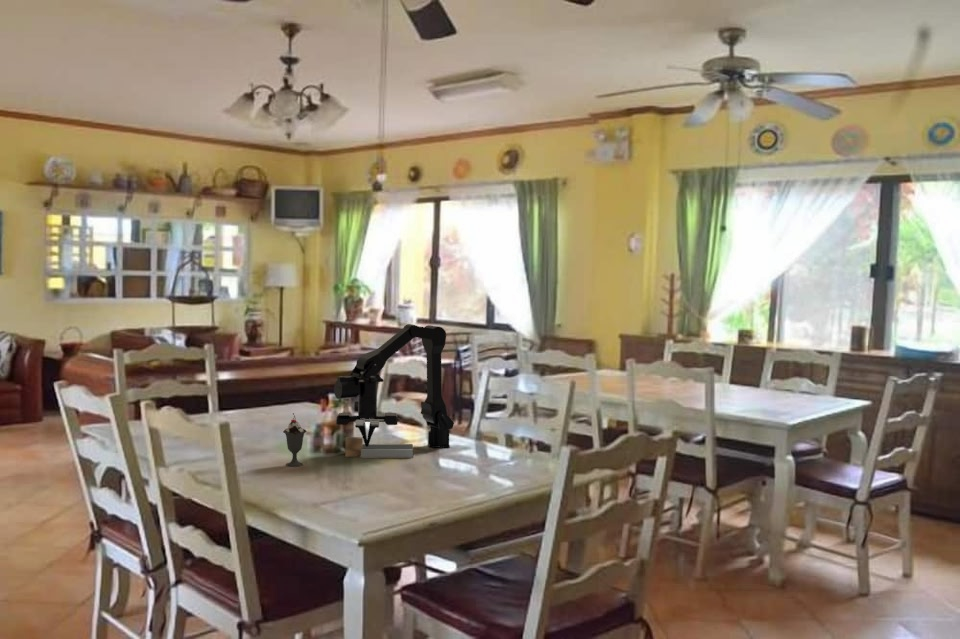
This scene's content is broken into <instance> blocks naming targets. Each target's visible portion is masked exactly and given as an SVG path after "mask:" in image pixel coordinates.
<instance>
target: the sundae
mask: <svg viewBox="0 0 960 639" xmlns="http://www.w3.org/2000/svg"><path fill="white" fill-rule="evenodd" d="M292 415H293V418H292V419H291V421H290V422H289V424H288V426H287V428H285V429H284V430H283V433H284V434H285V438H286V444H287V449H288V451H289V453H290V452H291V454H292V459H291V461H290V462H286V464H285V466H287V467H293V468H296V467H301V466H304V463H303V462H301V461H299V460H298V456H297V455H298V453H299V452H300V451H301V450H302V447H303V443H304V442H303V441H304V435H305V434H306V433H307V430H306V429H305V428H302V427H301V425H300V423H299V422H298V420H296V415H295V413H292Z"/></svg>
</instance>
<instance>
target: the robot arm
mask: <svg viewBox="0 0 960 639" xmlns="http://www.w3.org/2000/svg"><path fill="white" fill-rule="evenodd" d="M414 338H420V339H421V344H422V347H423V348H424V350H425V353H426V354H425V355H426V394H427V395H426V398H425V400H424V401H421V402H420V406H421V408H420V410H421V411H420V415H422V419H424V421H425V422H426V426H429V430H428V431H427V434H428V435H427V444H428V445H429V448H450V447H451V446H450V430H452V429H453V428H454V424H455V422H454V421H453V419H452V418H451V417H450V416H449V415H448V410H447V405H446V402H445V400H444V398H443V386H442V385H443V382H442V381H443V380H442V378H443V376H442V375H443V374H442V372H443V371H442V353H443V350H444V348H445V347H446V341H447V331H446V329H444V328H443V327H441V326H438V325H426V326H419V325H416V324H411V323H408V324H406V325H404V326H403V327H402V328H401V329H400V330H399V331H397V332H396V333H395V334H394V335H393V336H392V337H390V338H389V339H388V340H386V341H385V342H384V343H383V344H381V345H380V346H379V347H378V348H376V349H374V350H372V351H369V352H367V353H366V352H365V353H364V354H363V355H361V356H359V357H358V358H357V360H356V364H355V366H354V367H353V369H352V370H351V372H350V373H349V375H348V376H342V375H338V376H337V377H336V378H337V380H336V381H335V382H334V386H333V393H334V396H335V398H336V399H337V400H340V399H341V400H342V399H343V400H344V399H354V398H357V396H358V401H354V406H353V408H354V410H353V411H354V413H357V415H351V413H350V412H338V413H337V415H336V421H335V422H336V423H335V424H336V425H339V426H341V425H343V426H344V425H346V426H347V425H348V424H349V423H353V422H354V423H355V425H354V426H355V428H357V429H358V430H359V432H360V434H361V436H362V437H363V442H364V443H363V444H365V446H366V447H368V445H369V444H370V442H371V438H372V436H373V434H374V432H375V429H376V428H377V429H378V428H379V427H380V423H385V425H387V426H397V425H398V414H397V413H395V412H392V413H391V412H389V413H388V412H385V414H384V415H378V383H383V382H384V381H385V380H384V379H383V378H382V377H381V376H380V374H379V373H381V372H380V371H381V370H382V369H384V368H385V367H386V366H385V365H386V363H387V361H388V360H390V358H391V357H392V356H394V355H395V354H396V353H397V352H398V351H400V350H401V349H402V348H404V347H405V345H407V344H408V343H410V342H411V341H412V340H413V339H414ZM366 423H369V425H368V433H367V429H366V428H367V427H366V426H367V425H366Z"/></svg>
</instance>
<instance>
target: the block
mask: <svg viewBox="0 0 960 639" xmlns="http://www.w3.org/2000/svg"><path fill="white" fill-rule="evenodd" d="M363 442H364V440H363V437H361V436H358V437H357V436H355V437H354V436H346V438H345V457H346V458H347V457H360V458H361V449H362V447H363V444H364V443H363Z"/></svg>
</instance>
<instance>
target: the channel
mask: <svg viewBox="0 0 960 639" xmlns="http://www.w3.org/2000/svg"><path fill="white" fill-rule="evenodd" d="M413 446H414V445H413V443H369V445H368V447H366V446H365V443H363V447H362V449H361V457H360V458H361V459H362V458H364V459H370V458H371V459H372V458H373V459H374V458H375V459H378V458H382V459H385V458H386V459H387V458H389V459H391V458H392V459H394V458H396V459H397V458H398V459H401V458H402V459H406V458H407V459H408V458H409V459H412V458H413V459H414V448H413Z"/></svg>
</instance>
